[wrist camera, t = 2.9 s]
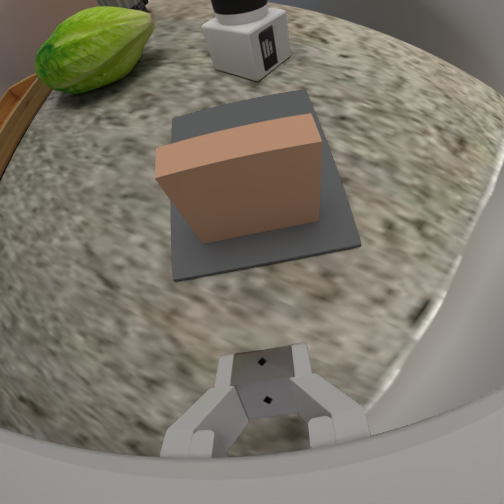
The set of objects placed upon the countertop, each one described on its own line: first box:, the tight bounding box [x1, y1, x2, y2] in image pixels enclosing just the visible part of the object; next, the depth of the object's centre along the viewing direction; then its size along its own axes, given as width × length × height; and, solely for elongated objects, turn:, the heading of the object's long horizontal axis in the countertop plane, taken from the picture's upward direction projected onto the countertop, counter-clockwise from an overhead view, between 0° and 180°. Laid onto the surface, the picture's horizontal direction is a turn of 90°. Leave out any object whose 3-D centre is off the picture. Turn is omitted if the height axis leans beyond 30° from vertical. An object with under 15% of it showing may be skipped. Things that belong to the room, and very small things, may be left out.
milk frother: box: [97, 0, 148, 13], centre depth 45 cm, size 14×16×15 cm
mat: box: [171, 89, 361, 282], centre depth 29 cm, size 16×20×1 cm
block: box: [155, 113, 322, 244], centre depth 22 cm, size 10×3×10 cm, turn 98°
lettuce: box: [35, 6, 155, 94], centre depth 36 cm, size 15×23×16 cm
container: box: [202, 0, 291, 81], centre depth 31 cm, size 8×8×13 cm
